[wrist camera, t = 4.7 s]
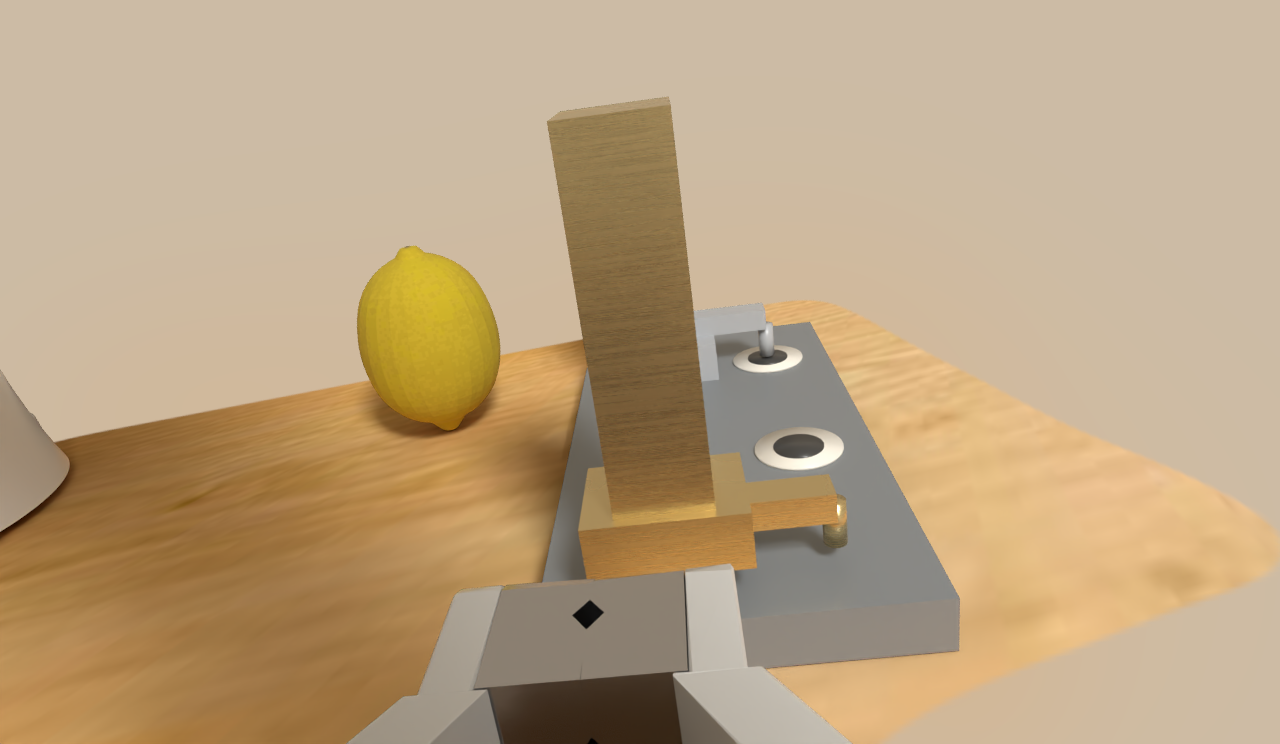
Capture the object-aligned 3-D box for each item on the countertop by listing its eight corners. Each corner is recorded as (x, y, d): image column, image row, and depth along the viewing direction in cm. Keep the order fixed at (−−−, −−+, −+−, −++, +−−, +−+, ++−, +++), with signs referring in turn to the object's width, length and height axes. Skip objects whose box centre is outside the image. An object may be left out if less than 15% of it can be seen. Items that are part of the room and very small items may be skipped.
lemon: (403, 410, 38) (359, 240, 35) (522, 395, 38) (488, 222, 35) (368, 468, 33) (313, 273, 30) (506, 451, 33) (464, 253, 30)
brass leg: (591, 602, 20) (503, 128, 16) (598, 532, 23) (526, 115, 19) (861, 576, 19) (842, 82, 15) (835, 508, 22) (813, 75, 18)
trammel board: (541, 688, 20) (431, 195, 16) (596, 377, 39) (552, 110, 34) (958, 650, 20) (966, 125, 15) (811, 352, 38) (795, 77, 34)
